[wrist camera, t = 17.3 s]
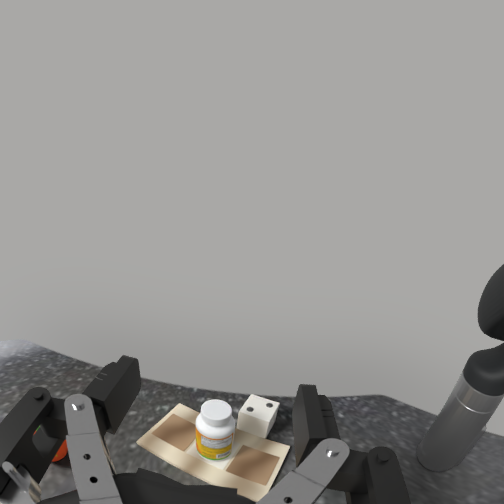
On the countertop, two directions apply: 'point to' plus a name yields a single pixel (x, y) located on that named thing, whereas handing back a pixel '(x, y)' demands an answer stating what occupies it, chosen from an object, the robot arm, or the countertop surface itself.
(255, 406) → the die
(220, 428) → the supplement bottle
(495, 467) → the countertop surface
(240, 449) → the board
